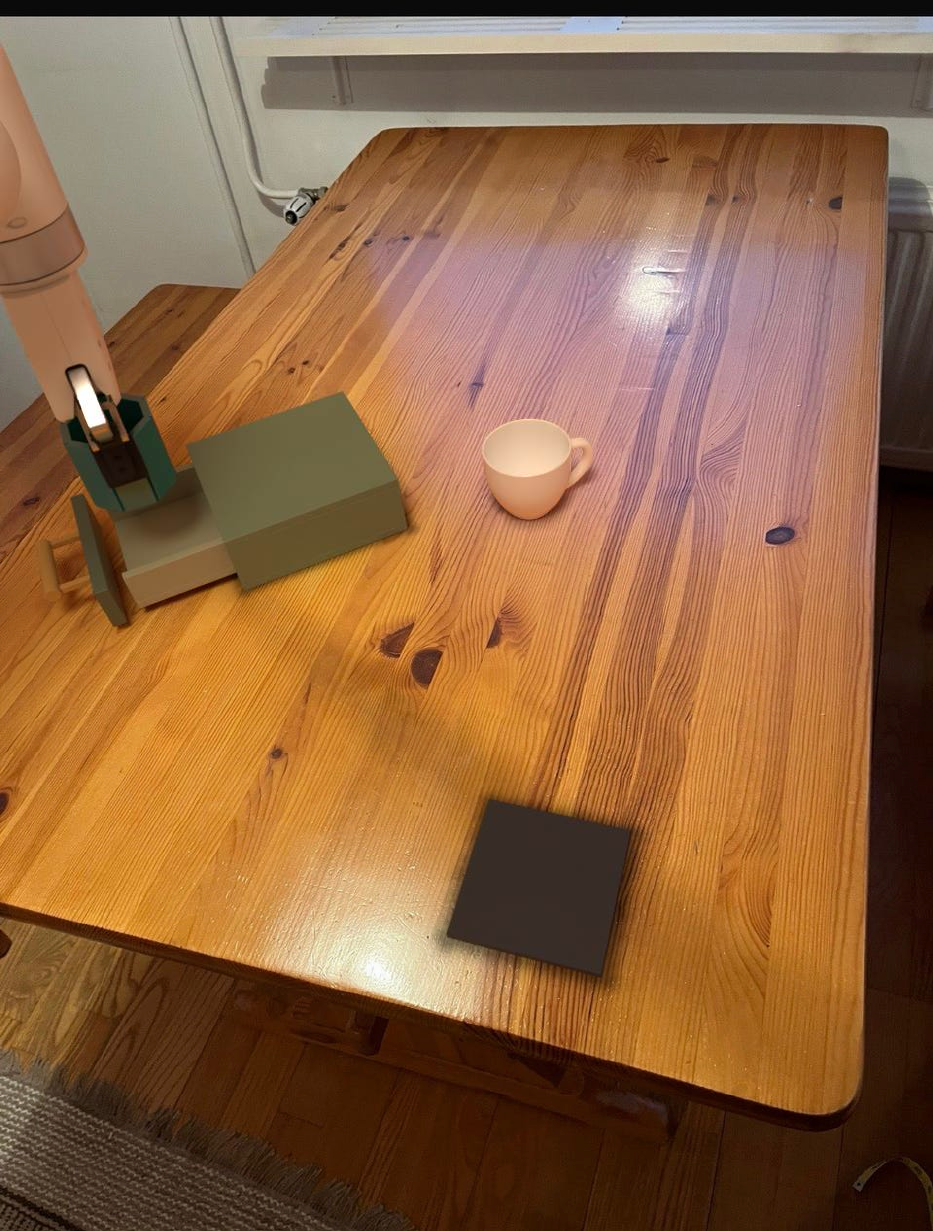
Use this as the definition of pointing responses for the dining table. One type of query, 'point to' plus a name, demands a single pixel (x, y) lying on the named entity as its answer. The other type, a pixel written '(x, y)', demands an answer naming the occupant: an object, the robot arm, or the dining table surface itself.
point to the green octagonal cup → (149, 445)
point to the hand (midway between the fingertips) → (120, 452)
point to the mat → (541, 887)
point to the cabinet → (297, 489)
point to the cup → (532, 465)
